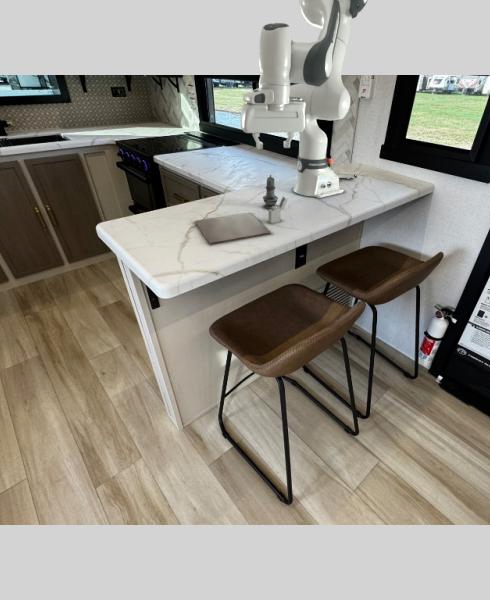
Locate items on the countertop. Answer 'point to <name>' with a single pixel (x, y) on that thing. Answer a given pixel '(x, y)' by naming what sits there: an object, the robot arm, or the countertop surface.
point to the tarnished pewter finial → (270, 194)
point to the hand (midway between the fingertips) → (273, 148)
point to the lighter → (277, 211)
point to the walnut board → (231, 228)
